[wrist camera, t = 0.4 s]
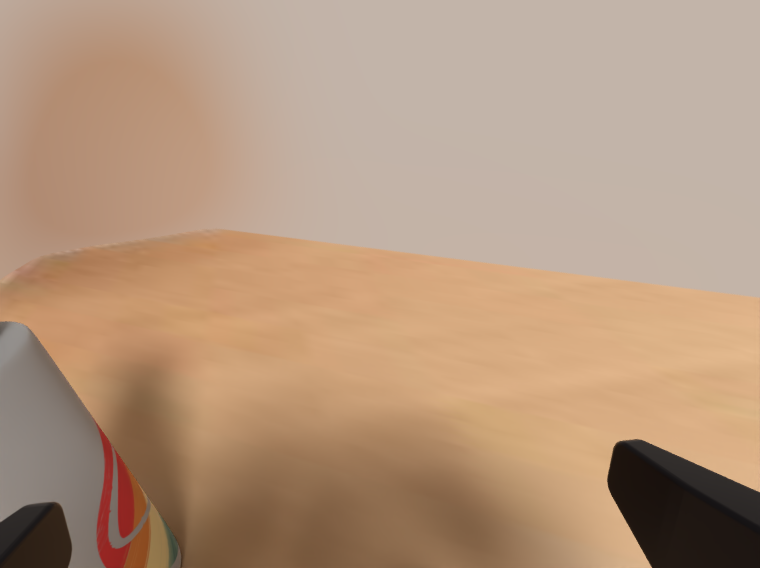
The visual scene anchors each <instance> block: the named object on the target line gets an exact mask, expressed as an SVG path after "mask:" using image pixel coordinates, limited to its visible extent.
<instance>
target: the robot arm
mask: <svg viewBox="0 0 760 568" xmlns="http://www.w3.org/2000/svg"><path fill="white" fill-rule="evenodd" d="M607 482H608V488H609V491H610V493H611V495H612V497H613V499H614V501H615V502H616V504H617V506H618V508H619V510H620V511H621V513H622V515H623V517H624V518H625V520H626V522H627V524H628V526H629V527H630V529H631V531H632V533H633V535H634V536H635V538H636V540H637V542H638V544H639V545H640V547H641V549H642V551H643V552H644V554H645V556H646V558H647V560H648V561H649V563H650V565H651V567H652V568H760V492H758V491H755V490H753V489H751V488H749V487H746V486H744V485H742V484H740V483H737V482H735V481H733V480H731V479H728V478H726V477H724V476H722V475H719V474H717V473H715V472H713V471H710V470H708V469H706V468H704V467H702V466H699V465H697V464H695V463H693V462H690V461H688V460H686V459H684V458H681V457H679V456H677V455H675V454H672V453H670V452H668V451H666V450H663V449H661V448H659V447H657V446H654V445H652V444H650V443H648V442H645V441H643V440H639V439H634V440H624V441H619V442H617V443H616V444H615V446H614V448H613V453H612V458H611V463H610V467H609V472H608V478H607ZM71 556H72V541H71V538H70V534H69V530H68V526H67V523H66V519H65V515H64V511H63V508H62V506H61V505H60V504H59V503H58V502H44V503H34V504H29V505H26V506H23V507H22V508H20V509H19V510H17V511H16V512H14V513H13V514H11V515H10V516H8V517H7V518H6V519H4V520H3V521H1V522H0V568H68V566H69V564H70V560H71Z"/></svg>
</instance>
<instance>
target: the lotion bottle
mask: <svg viewBox="0 0 760 568" xmlns="http://www.w3.org/2000/svg"><path fill="white" fill-rule="evenodd" d="M44 502H58V503H59V504H60V505H61V506H62V508H63V511H64V515H65V519H66V523H67V526H68V530H69V534H70V538H71V541H72V556H71V560H70V564H69V566H68V568H180V567H181V552H180V548H179V545H178V542H177V541H176V539H175V537H174V535H173V533H172V532H171V530H170V529H169V527H168V526H167V524H166V523H165V521H164V520H163V518H162V517H161V515H160V514H159V512H158V511H157V509H156V508H155V507H154V505H153V504H152V502H151V501H150V499H149V498H148V496H147V495H146V494H145V492H144V491H143V489H142V488H141V486H140V485H139V483H138V482H137V481H136V479H135V478H134V476H133V475H132V473H131V472H130V470H129V469H128V468H127V466H126V465H125V463H124V462H123V460H122V459H121V457H120V456H119V455H118V453H117V452H116V450H115V449H114V447H113V446H112V444H111V443H110V442H109V440H108V439H107V437H106V436H105V434H104V433H103V431H102V430H101V429H100V427H99V426H98V424H97V423H96V421H95V420H94V418H93V417H92V416H91V414H90V413H89V411H88V410H87V408H86V407H85V405H84V404H83V403H82V401H81V400H80V398H79V397H78V395H77V394H76V392H75V391H74V390H73V388H72V387H71V385H70V384H69V382H68V381H67V379H66V378H65V377H64V375H63V374H62V372H61V371H60V369H59V368H58V367H57V365H56V364H55V362H54V361H53V359H52V358H51V357H50V355H49V354H48V352H47V351H46V349H45V348H44V347H43V345H42V344H41V343H40V341H39V340H38V338H37V337H36V336H35V335H34V333H33V332H32V331H31V330H30V329H29V328H28V327H27V326H25V325H23V324H21V323H17V322H0V522H1V521H3V520H4V519H6V518H7V517H8V516H10V515H11V514H13V513H14V512H16V511H17V510H19V509H20V508H22V507H23V506H26V505H29V504H34V503H44Z"/></svg>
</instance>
